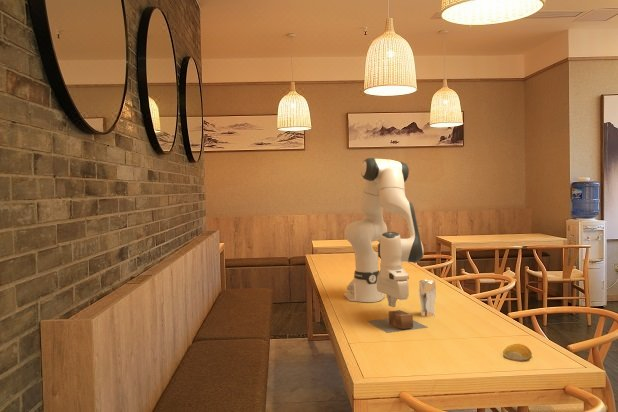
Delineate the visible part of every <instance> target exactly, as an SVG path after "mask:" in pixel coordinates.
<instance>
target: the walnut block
mask: <svg viewBox="0 0 618 412" xmlns="http://www.w3.org/2000/svg"><path fill="white" fill-rule="evenodd" d="M388 318H389V324H391V325H393V326H396V327H398V328H401V329H406V328H413V320H414V314H413V313H409V312H406V311H404V310H400V309H398V310H389V311H388Z"/></svg>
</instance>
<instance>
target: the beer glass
mask: <svg viewBox="0 0 618 412" xmlns="http://www.w3.org/2000/svg"><path fill="white" fill-rule="evenodd" d="M418 283H419V285H418V286H419V287H418V294H419V295H418V296H419V301H420V307H421V310H420V316H422V317H425V318H430V317H431V318H432V317H436V315H435V314H436V313H435V303H436V298H437V297H436V295H437V287H436V286H437V285H436V281H435V280H433V279H421V280H419V282H418Z"/></svg>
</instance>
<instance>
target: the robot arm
mask: <svg viewBox="0 0 618 412" xmlns="http://www.w3.org/2000/svg"><path fill="white" fill-rule="evenodd" d="M360 167H361V168H360V175H361V176H362V179H364V180H365V182H364V184H363V188H362V192H361V193H362V194H361V198H360V203H359V207H360V209H361V211H362V212H363V219H361V220H355V221H353V222H351V223H350V222H349V223H348V224H347V225H346V227H345V228H344V237H345V239H346V240H347V241H348V242H349V244H351V246H352V249H353V252H354V257H355V258H354V259H355V270H354V273H353V279H352V280H351V281H350V282H349V283H348V285H347V286H346V289H347V292H344V293H343V296H344V297H345V298H346V299H348V301H349V302H360V303H375V302H376V303H377V302H379V301H382V300H383V299H385V297H386V299H387V304H388V306H389V307H392V308H396V307H397V304H396V303H397V300H399V301H403V300H407V299H408V298H409V295H410V293H409V292H410V291H409V290H410V288H409V281H408V280H409V279H410V275H409V273H407V271H406V270H405V269H404V268H403V262H405V263H406V262H408V263H414V264H415V263H418V262H419V261H420V260H422V259H423V258H424V254H425V251H424V250H425V249H424V245H423V242H422V240H421V236H420V230H419V226H418V220H417V215H416V213H415V207H414V205H413V203H412V202H411V201H409V200H408V199H407V197H406V189H405V182H407V181H408V178H409V174H410V169H409V168H410V167H409V166H408V165H407V163H405V162H403V161H397V160H393V159H388V158H386V159H385V158H374V157H368V158H365V159H364V160H363V162H362V165H361V166H360ZM384 209H385V210H386V211H388V212H389V213H393V214H396V215H398V216H401V217H403V218H404V219H405V220H406V222H407V227H408V230H409V231H408V233H409V237H408V238H401V234H400V233H398V232H397V231H396V232H395V231H388V226H387V224H386V222H385V221H384V215H383V213H384ZM379 241H380V242H379ZM372 242H379V243H377V249H378V250H377V252H376V251H375V250H374V248H373V244H372ZM379 258H380V262H379ZM379 264H380V265H379ZM379 266H380V267H379ZM379 268H380V270H379Z"/></svg>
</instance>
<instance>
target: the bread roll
mask: <svg viewBox="0 0 618 412" xmlns="http://www.w3.org/2000/svg"><path fill="white" fill-rule="evenodd" d="M532 353H533V352H532V351H531V349H530V348H529V347H528V346H526V345H524V344H521V343H514V344H510V345H508V346H506V347H505V348H504V350H503V351H502V355H503V357H504V358H506V359H508V360H511V361H512V360H513V361H515V362H516V361H519V362H522V361H527V360H529V359H530V358H531V356H532Z"/></svg>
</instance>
